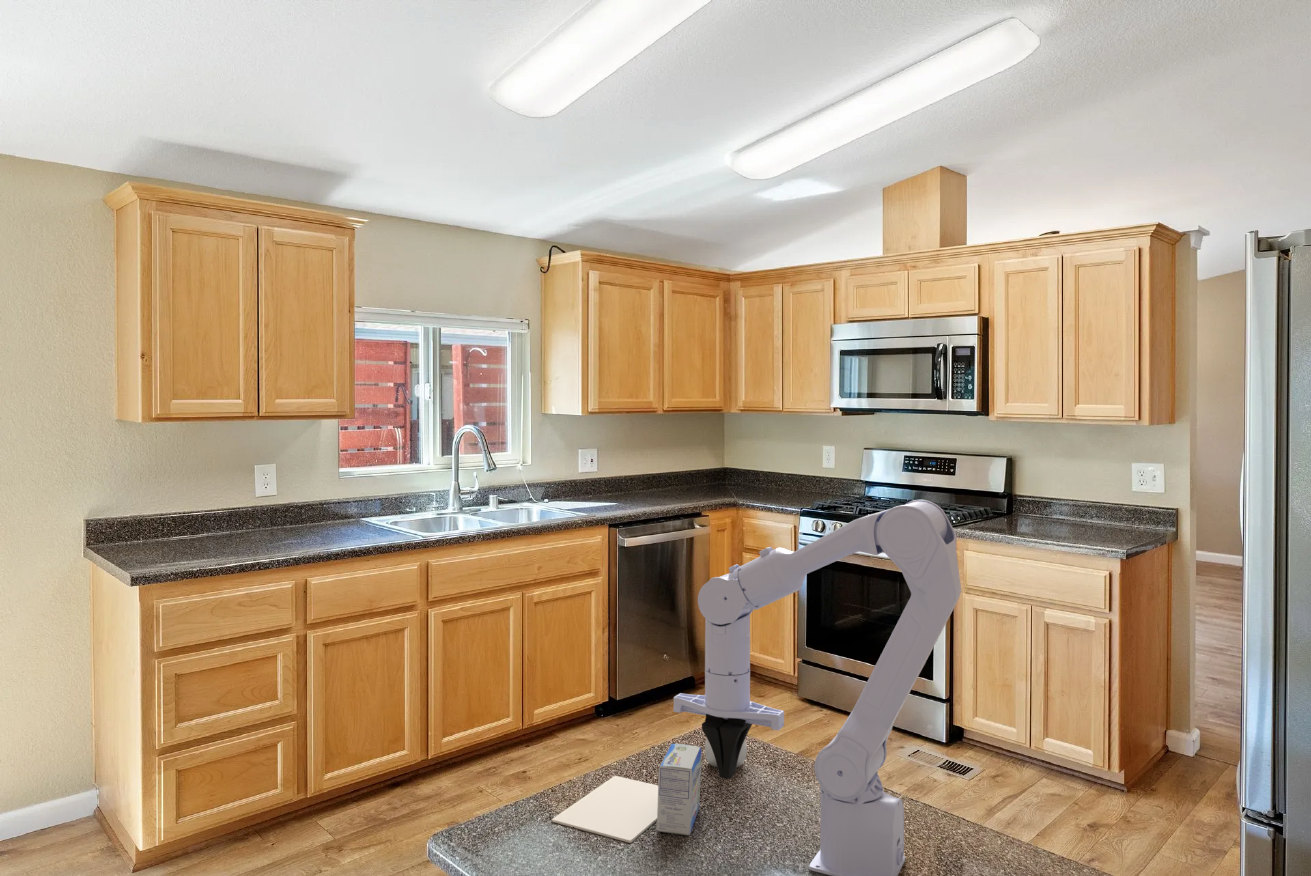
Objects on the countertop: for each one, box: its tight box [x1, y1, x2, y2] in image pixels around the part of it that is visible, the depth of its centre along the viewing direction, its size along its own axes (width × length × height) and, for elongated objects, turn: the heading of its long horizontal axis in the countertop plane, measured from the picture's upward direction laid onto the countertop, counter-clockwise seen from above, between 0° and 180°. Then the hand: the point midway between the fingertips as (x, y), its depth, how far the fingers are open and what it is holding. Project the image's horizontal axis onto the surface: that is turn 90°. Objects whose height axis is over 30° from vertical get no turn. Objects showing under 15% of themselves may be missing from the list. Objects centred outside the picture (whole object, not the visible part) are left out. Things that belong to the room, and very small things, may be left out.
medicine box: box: [656, 743, 702, 836], centre depth 111 cm, size 8×4×9 cm, turn 168°
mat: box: [551, 775, 658, 844], centre depth 115 cm, size 12×16×1 cm
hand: (727, 775), depth 108 cm, fingers closed
